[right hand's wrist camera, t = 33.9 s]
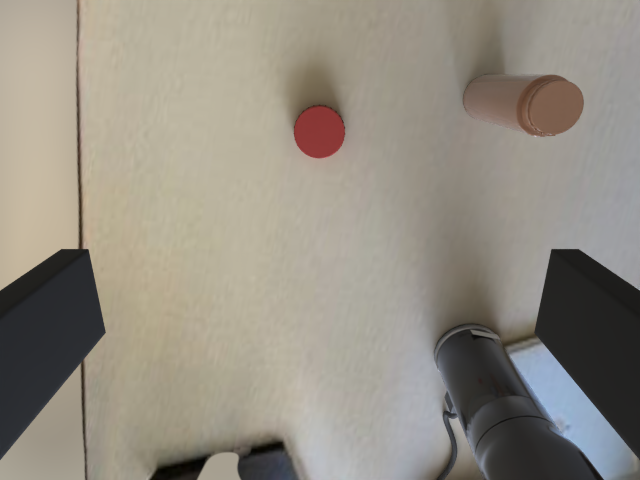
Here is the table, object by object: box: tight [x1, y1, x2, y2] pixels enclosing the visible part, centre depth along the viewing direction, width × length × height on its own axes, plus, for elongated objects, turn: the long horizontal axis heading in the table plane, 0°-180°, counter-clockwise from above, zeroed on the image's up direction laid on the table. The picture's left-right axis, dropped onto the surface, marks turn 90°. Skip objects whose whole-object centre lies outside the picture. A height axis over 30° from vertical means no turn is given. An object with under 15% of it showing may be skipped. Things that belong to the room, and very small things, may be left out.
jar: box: [463, 74, 583, 137], centre depth 42 cm, size 5×5×16 cm
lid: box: [294, 105, 345, 158], centre depth 50 cm, size 6×6×2 cm
